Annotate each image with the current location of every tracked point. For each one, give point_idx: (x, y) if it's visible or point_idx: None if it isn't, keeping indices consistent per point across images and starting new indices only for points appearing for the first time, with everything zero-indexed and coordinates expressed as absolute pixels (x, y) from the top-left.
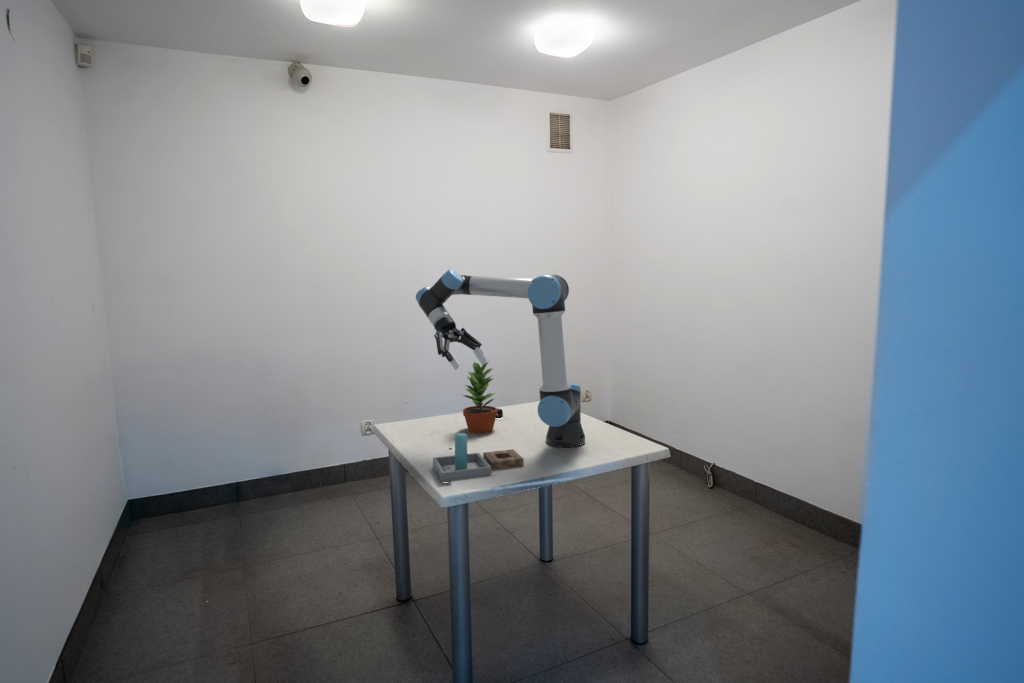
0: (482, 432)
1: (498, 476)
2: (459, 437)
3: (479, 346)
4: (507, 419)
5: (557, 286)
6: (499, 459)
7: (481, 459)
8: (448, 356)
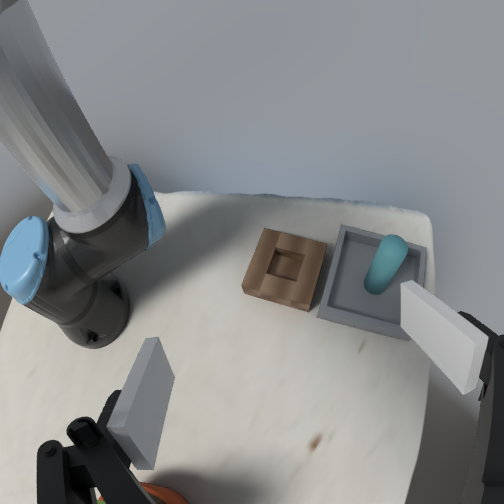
0: (175, 491)
1: (324, 233)
2: (401, 239)
3: (74, 448)
4: None
5: None
6: (305, 249)
7: (336, 268)
8: (480, 323)
